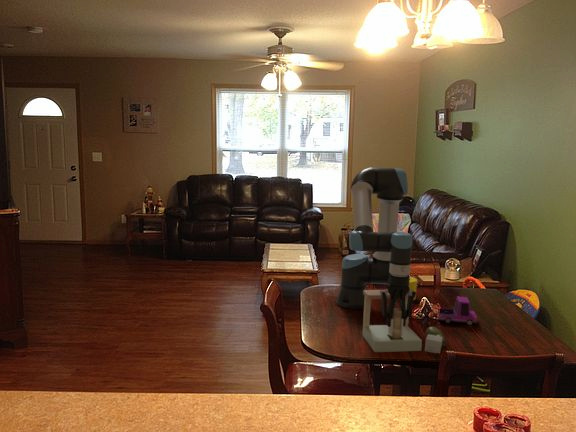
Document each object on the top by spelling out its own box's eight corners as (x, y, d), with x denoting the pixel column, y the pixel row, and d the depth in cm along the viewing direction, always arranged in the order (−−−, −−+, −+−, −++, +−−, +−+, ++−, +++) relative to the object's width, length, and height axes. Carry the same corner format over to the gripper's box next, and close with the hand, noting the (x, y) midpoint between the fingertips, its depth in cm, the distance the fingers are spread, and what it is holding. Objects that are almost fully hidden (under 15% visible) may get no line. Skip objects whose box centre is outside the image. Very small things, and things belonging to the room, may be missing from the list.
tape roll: (417, 301, 251) (419, 282, 250) (397, 300, 251) (398, 281, 250) (413, 294, 261) (414, 276, 260) (393, 294, 261) (394, 275, 260)
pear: (436, 323, 207) (450, 337, 198) (433, 335, 209) (448, 349, 200) (424, 324, 205) (438, 338, 196) (421, 336, 207) (435, 350, 198)
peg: (388, 343, 198) (390, 308, 196) (397, 342, 199) (399, 307, 196) (391, 347, 195) (394, 311, 192) (400, 346, 195) (403, 311, 193)
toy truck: (476, 327, 220) (479, 304, 218) (438, 323, 223) (440, 301, 221) (472, 318, 230) (474, 296, 229) (436, 315, 233) (438, 293, 232)
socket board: (362, 335, 207) (362, 325, 207) (405, 333, 210) (406, 324, 209) (374, 352, 192) (375, 341, 191) (421, 350, 194) (421, 340, 194)
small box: (440, 354, 192) (441, 341, 191) (424, 351, 194) (425, 339, 193) (441, 348, 197) (442, 336, 196) (426, 345, 199) (427, 333, 198)
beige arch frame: (361, 325, 207) (363, 290, 205) (406, 324, 210) (409, 289, 207) (366, 331, 201) (368, 295, 198) (413, 330, 203) (415, 294, 201)
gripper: (381, 277, 187) (377, 338, 191) (424, 276, 190) (419, 337, 194) (375, 271, 195) (371, 331, 198) (416, 271, 197) (412, 330, 201)
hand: (395, 334), depth 196 cm, fingers closed on peg, 3 cm apart
